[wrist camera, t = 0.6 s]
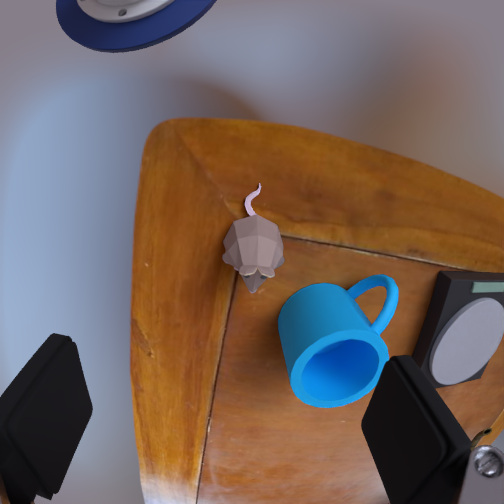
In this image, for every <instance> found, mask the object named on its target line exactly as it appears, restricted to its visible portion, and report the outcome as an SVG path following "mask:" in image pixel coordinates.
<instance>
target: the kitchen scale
mask: <svg viewBox="0 0 504 504" xmlns="http://www.w3.org/2000/svg"><path fill="white" fill-rule="evenodd" d="M503 333H504V273H489V272H460V271H439V274H438V278H437V282H436V285H435V289H434V292H433V296H432V299H431V302H430V306H429V309H428V312H427V315H426V318H425V321H424V324H423V327H422V330H421V333H420V336H419V339H418V341H417V344H416V347H415V349H414V352H413V355H412V358H413V360H414V361H415V362H416V364H417V365H418V366H419V368H420V369H421V370H422V372H423V373H424V375H425V376H426V377H427V379H428V380H429V381H430V383H431V384H432V386H433V387H434V388H439V387H444V386H449V385H454V384H458V383H463V382H467V381H471V380H475V379H479V378H481V376H482V374H483V372H484V370H485V368H486V366H487V364H488V362H489V360H490V358H491V356H492V355H493V354H494V352H495V351H496V349H497V347H498V345H499V343H500V341H501V339H502V336H503Z"/></svg>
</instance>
